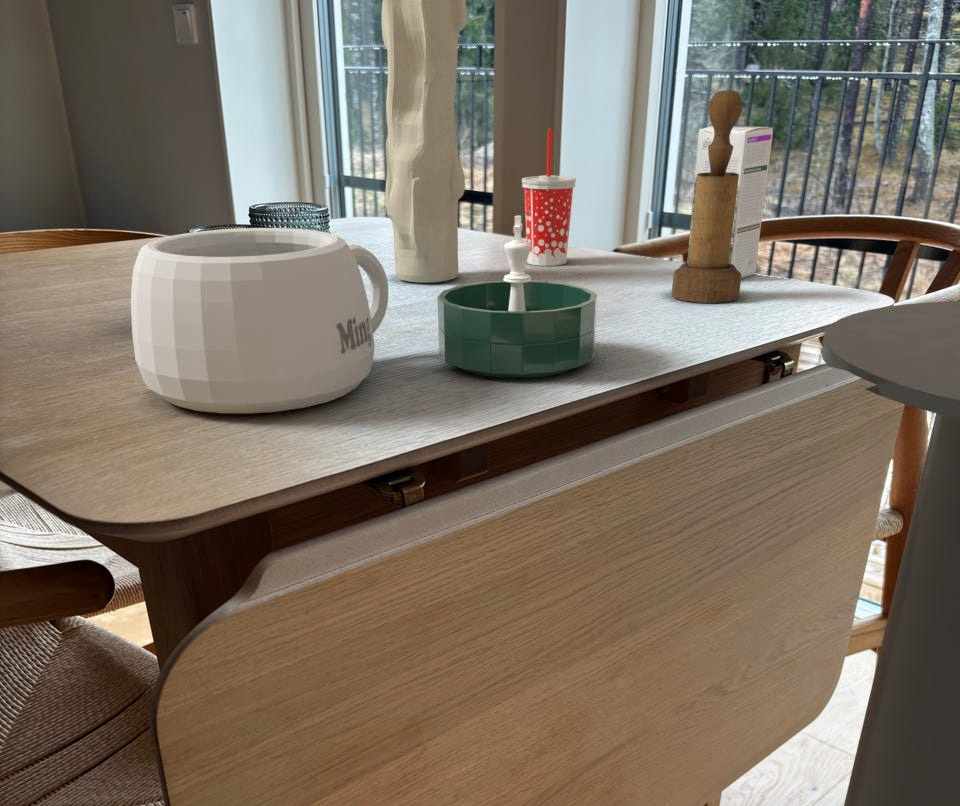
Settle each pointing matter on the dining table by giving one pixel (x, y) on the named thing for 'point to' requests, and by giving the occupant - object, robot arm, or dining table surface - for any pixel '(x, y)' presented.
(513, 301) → the chess piece
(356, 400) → the dining table surface
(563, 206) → the beverage cup
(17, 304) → the dining table surface
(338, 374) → the mug
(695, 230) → the mortar and pestle
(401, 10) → the vase
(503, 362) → the green round bowl
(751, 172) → the syrup box
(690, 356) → the dining table surface
